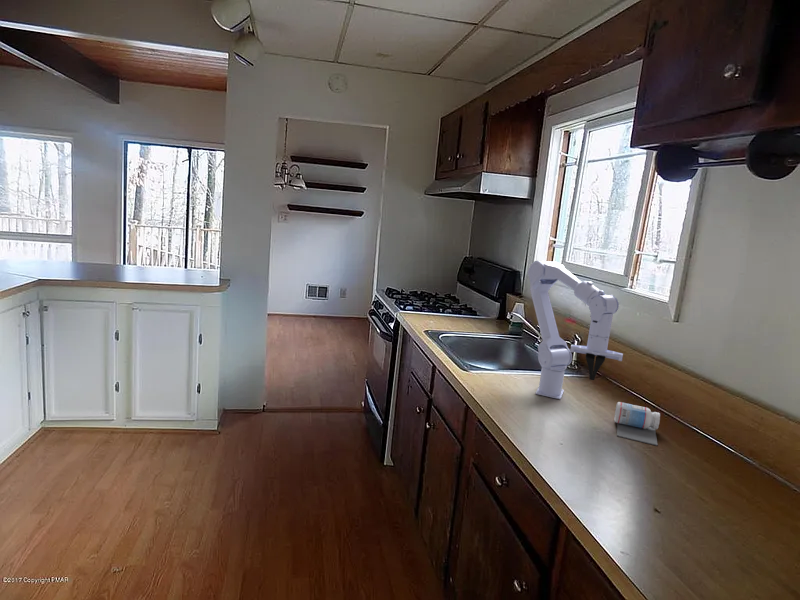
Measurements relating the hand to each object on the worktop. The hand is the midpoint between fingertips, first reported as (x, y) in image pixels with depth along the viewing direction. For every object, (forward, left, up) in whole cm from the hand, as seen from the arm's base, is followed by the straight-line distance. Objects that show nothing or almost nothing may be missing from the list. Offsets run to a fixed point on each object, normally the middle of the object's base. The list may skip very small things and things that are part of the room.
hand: (591, 379), depth 153 cm
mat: (+4, +14, -10) cm, 18 cm away
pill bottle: (+4, +8, -7) cm, 11 cm away
